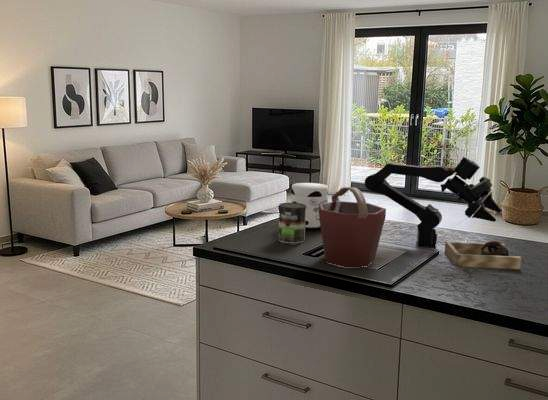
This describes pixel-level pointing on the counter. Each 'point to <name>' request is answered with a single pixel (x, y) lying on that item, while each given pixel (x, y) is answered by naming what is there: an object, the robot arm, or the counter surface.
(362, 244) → the bucket
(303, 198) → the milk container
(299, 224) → the coffee can
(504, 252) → the pottery mug
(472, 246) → the wooden frame
